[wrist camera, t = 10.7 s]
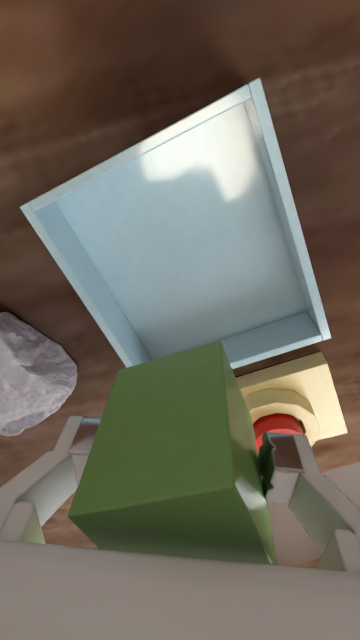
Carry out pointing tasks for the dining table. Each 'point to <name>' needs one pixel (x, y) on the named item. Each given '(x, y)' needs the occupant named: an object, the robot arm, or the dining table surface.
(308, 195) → the dining table surface
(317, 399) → the button housing
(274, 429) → the button
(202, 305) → the basin
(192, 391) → the green block
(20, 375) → the stone block
